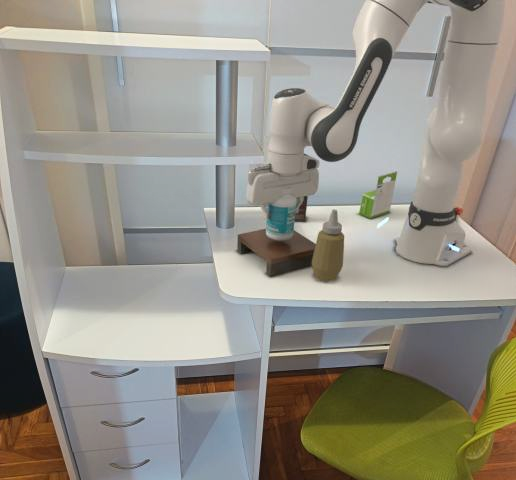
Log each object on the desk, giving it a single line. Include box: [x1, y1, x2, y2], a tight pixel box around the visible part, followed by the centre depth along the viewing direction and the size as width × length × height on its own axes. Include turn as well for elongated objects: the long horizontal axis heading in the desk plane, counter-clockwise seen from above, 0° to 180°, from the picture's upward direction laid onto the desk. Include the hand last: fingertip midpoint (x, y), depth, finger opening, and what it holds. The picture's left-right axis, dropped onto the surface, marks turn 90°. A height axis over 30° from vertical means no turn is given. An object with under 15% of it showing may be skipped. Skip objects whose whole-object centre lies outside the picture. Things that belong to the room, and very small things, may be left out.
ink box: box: [358, 170, 398, 220], centre depth 166 cm, size 10×5×14 cm, turn 130°
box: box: [294, 196, 309, 222], centre depth 160 cm, size 6×4×12 cm
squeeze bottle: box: [311, 209, 345, 282], centre depth 127 cm, size 8×8×18 cm
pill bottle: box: [265, 188, 296, 240], centre depth 132 cm, size 8×7×14 cm
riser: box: [236, 228, 316, 278], centre depth 139 cm, size 16×17×5 cm
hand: (280, 215), depth 133 cm, fingers closed on pill bottle, 7 cm apart
